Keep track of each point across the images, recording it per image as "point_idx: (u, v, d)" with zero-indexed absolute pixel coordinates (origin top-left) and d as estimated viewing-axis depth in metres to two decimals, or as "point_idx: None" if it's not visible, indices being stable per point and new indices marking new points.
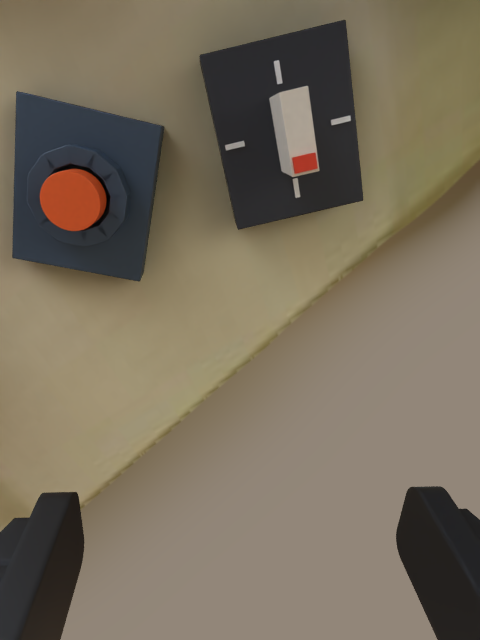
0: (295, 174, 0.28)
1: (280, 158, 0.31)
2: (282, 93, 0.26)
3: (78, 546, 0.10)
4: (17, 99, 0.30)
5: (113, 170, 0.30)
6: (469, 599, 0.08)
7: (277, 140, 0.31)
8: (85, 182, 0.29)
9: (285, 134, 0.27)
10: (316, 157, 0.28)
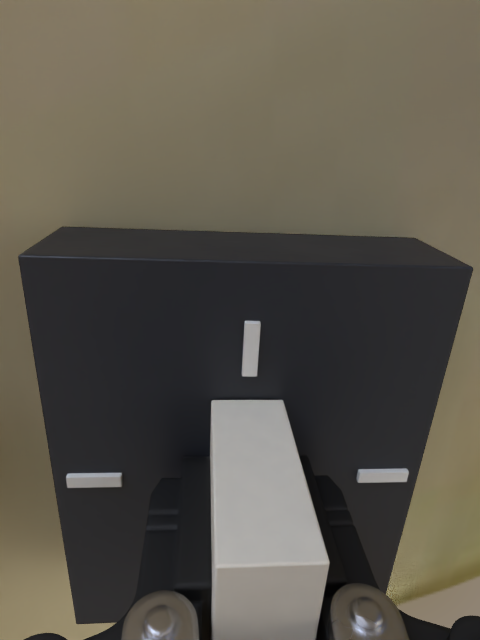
0: None
1: None
2: (227, 570, 0.07)
3: None
4: None
5: None
6: None
7: None
8: None
9: None
10: None
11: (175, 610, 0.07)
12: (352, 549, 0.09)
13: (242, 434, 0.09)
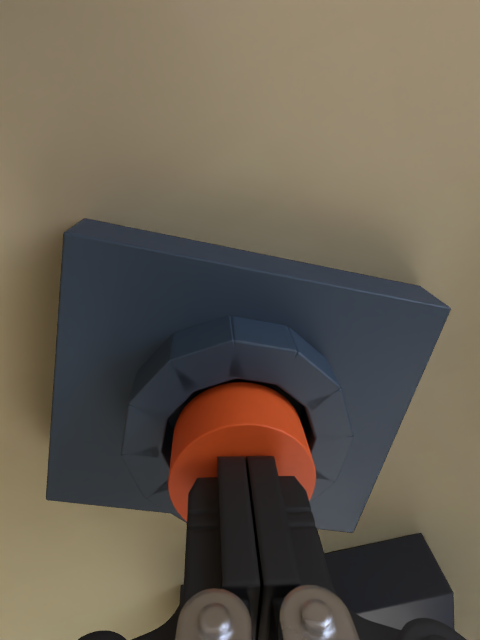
0: None
1: None
2: None
3: None
4: (436, 308, 0.14)
5: None
6: (257, 551, 0.09)
7: None
8: None
9: None
10: None
11: (227, 609, 0.07)
12: (311, 550, 0.09)
13: None
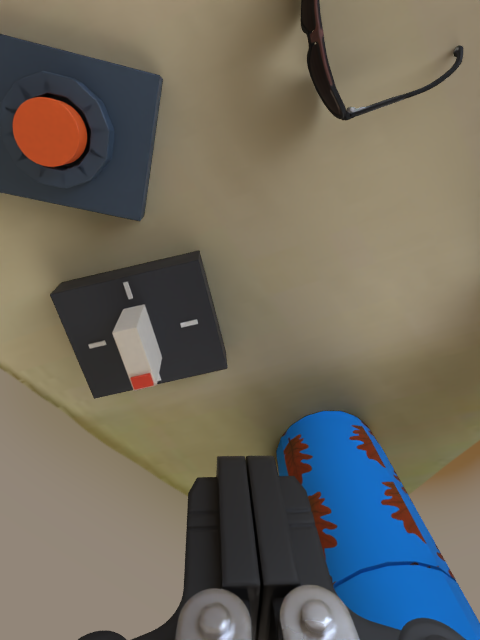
0: None
1: None
2: (114, 333, 0.31)
3: None
4: (152, 75, 0.29)
5: (89, 176, 0.30)
6: (257, 551, 0.09)
7: None
8: (69, 153, 0.28)
9: None
10: (151, 377, 0.32)
11: (227, 609, 0.07)
12: (311, 550, 0.09)
13: (128, 313, 0.33)
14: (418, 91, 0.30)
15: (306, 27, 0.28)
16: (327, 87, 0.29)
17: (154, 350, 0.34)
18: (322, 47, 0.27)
